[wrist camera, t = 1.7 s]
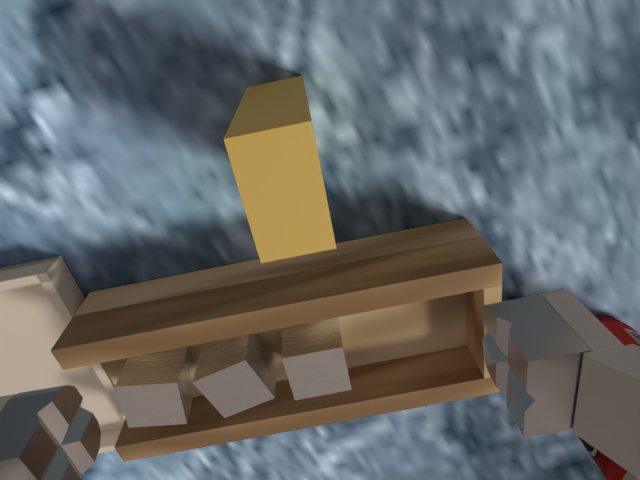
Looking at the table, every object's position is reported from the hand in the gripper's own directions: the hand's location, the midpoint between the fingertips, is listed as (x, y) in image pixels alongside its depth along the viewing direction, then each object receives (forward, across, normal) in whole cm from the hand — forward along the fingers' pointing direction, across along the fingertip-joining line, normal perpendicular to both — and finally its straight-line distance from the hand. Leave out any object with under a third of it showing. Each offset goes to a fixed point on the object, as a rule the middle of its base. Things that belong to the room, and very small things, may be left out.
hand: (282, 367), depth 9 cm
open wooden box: (+18, +2, +13) cm, 22 cm away
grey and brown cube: (+16, +11, +13) cm, 23 cm away
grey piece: (+16, +6, +13) cm, 21 cm away
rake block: (+18, 0, 0) cm, 18 cm away
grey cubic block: (+16, +1, +13) cm, 20 cm away
